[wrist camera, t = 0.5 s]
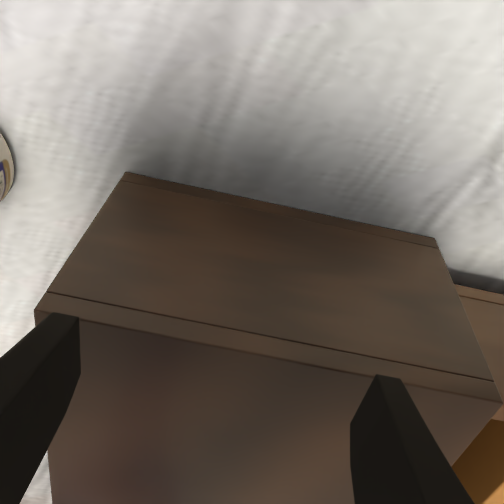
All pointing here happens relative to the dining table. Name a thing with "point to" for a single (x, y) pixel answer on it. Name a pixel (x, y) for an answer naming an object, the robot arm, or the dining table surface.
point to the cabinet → (248, 349)
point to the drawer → (487, 331)
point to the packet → (484, 465)
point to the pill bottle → (5, 168)
